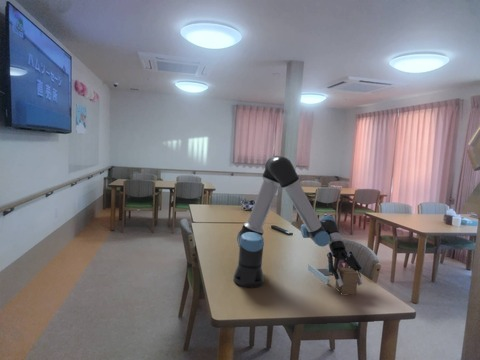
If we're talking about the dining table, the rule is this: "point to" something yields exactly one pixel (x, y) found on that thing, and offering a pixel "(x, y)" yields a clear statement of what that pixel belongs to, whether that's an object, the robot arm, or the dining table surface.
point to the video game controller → (342, 264)
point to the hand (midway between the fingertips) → (351, 285)
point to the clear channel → (320, 273)
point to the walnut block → (347, 280)
